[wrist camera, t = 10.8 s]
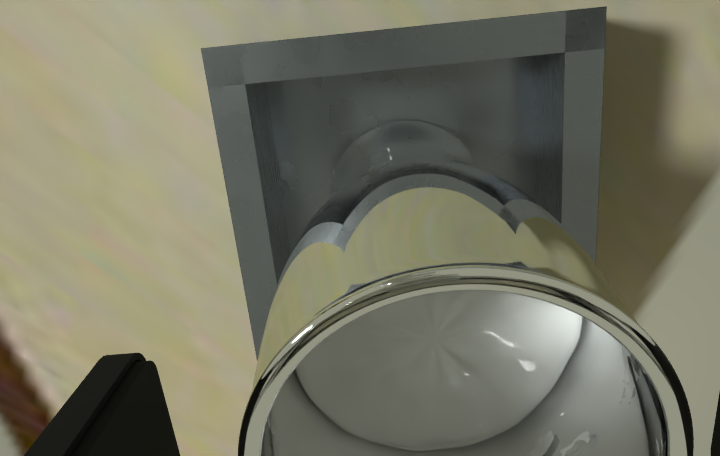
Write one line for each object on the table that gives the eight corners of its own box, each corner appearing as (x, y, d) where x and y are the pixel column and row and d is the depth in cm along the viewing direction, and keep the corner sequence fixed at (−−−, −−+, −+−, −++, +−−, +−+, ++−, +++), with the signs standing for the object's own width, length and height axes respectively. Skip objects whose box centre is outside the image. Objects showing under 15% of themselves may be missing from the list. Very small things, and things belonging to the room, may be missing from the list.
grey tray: (232, 46, 21) (200, 48, 17) (563, 12, 20) (606, 6, 17) (279, 334, 25) (262, 386, 21) (557, 313, 24) (591, 364, 21)
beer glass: (527, 158, 22) (821, 391, 7) (438, 302, 24) (536, 698, 9) (367, 75, 21) (354, 156, 7) (290, 231, 23) (153, 552, 9)
